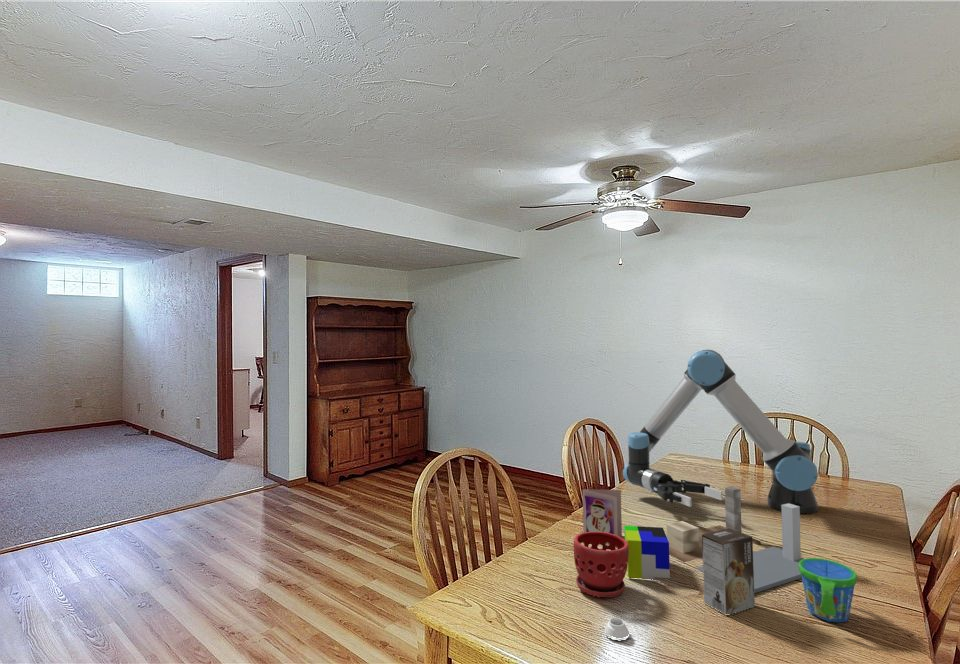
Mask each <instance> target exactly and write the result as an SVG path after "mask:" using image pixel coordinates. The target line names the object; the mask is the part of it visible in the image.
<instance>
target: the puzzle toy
mask: <svg viewBox="0 0 960 664" xmlns="http://www.w3.org/2000/svg"><path fill="white" fill-rule="evenodd" d="M624 539H625V540H626V541H627V542H628V545H629V556H628V565H627V571H626V573H627V572H628V574H627V578H628V577H629V578H642V579H651V580H652V579H653V580H659V579H658V578H664V579H671V572H670V569H671V567H670V566H671V565H670V555H669V541H668V539H667V533H666V532H665V530H664V527H658V526H643V525H642V526H641V525H640V526H639V525H638V526H637V525H624Z"/></svg>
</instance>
